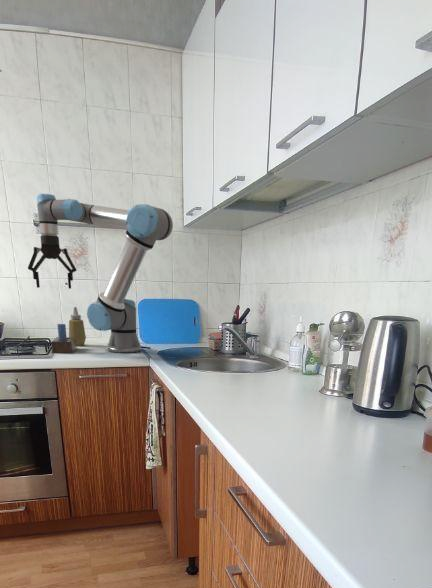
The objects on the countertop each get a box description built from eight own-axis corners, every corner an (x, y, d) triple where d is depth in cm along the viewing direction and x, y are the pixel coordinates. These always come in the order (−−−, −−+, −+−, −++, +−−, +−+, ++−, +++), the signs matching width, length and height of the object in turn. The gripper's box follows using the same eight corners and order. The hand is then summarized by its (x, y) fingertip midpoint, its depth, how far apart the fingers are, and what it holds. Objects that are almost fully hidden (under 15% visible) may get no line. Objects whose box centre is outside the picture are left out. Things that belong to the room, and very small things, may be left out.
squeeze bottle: (82, 346, 226) (79, 308, 220) (66, 345, 228) (63, 307, 221) (89, 344, 234) (86, 307, 227) (73, 343, 235) (70, 306, 228)
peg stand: (76, 348, 222) (75, 337, 220) (72, 353, 208) (71, 341, 206) (57, 347, 221) (56, 337, 219) (52, 353, 207) (51, 341, 205)
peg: (68, 351, 213) (65, 323, 209) (67, 352, 210) (64, 324, 206) (60, 351, 213) (58, 323, 208) (59, 352, 210) (56, 324, 205)
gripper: (80, 237, 206) (83, 288, 214) (21, 234, 202) (26, 286, 210) (78, 236, 199) (82, 289, 207) (17, 233, 195) (23, 287, 203)
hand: (54, 288), depth 209 cm, fingers open, 13 cm apart
